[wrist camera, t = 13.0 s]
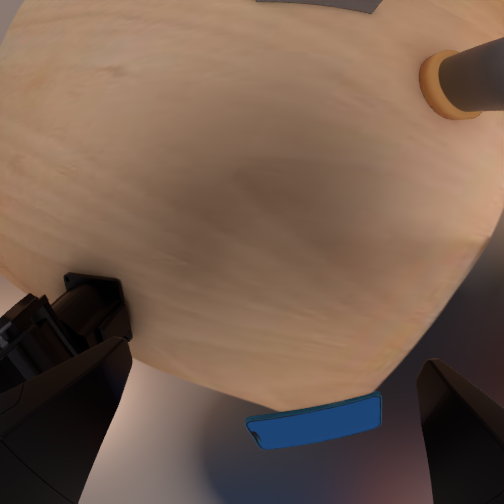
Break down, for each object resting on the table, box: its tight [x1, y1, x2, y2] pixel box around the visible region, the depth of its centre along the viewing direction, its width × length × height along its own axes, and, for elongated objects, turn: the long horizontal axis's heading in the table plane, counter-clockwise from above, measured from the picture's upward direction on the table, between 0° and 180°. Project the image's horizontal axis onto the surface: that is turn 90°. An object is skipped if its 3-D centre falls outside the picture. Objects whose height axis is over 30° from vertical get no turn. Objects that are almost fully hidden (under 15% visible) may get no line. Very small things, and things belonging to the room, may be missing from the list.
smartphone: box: [245, 391, 382, 450], centre depth 27 cm, size 7×1×15 cm
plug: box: [419, 37, 504, 120], centre depth 8 cm, size 5×5×12 cm
